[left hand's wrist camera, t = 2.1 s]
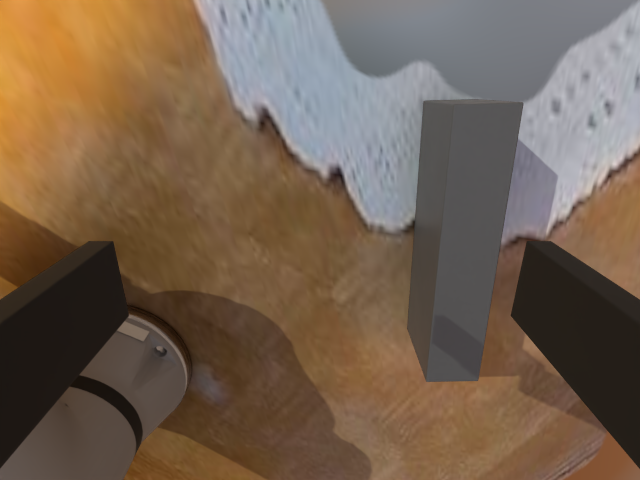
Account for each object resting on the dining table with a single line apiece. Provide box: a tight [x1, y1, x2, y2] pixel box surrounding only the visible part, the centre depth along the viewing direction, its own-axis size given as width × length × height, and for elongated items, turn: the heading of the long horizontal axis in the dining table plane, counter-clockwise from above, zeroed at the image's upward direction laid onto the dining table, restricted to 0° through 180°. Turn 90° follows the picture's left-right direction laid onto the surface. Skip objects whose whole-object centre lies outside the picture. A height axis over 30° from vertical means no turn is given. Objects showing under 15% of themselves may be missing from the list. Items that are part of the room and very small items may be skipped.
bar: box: [407, 99, 523, 382], centre depth 33 cm, size 23×5×8 cm, turn 1°
